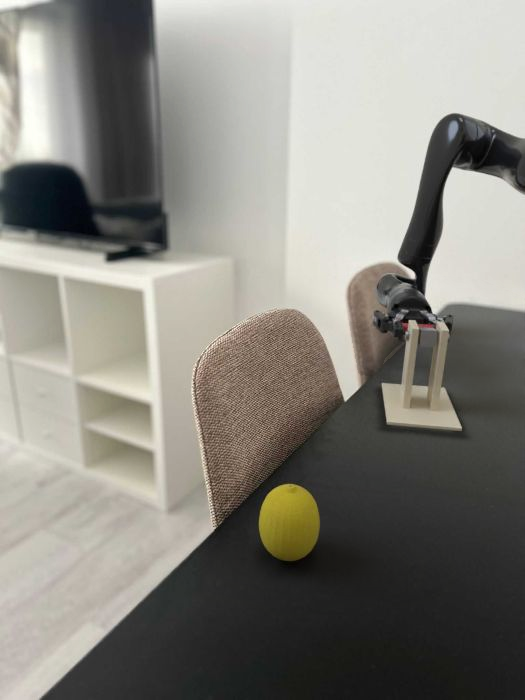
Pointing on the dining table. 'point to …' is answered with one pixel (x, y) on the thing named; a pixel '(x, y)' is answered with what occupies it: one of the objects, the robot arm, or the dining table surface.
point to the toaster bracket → (421, 388)
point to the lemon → (289, 522)
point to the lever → (424, 334)
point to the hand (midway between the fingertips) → (419, 335)
